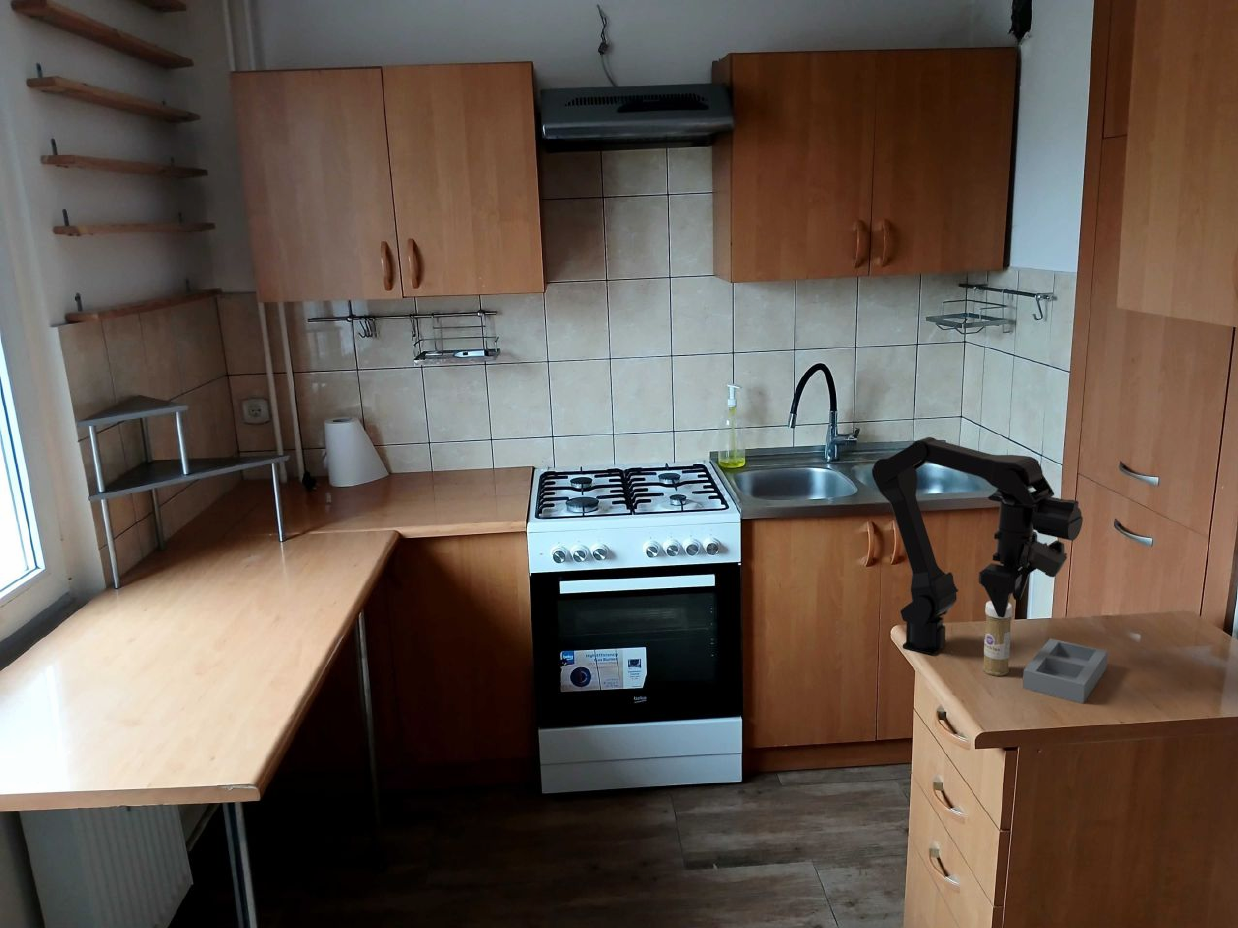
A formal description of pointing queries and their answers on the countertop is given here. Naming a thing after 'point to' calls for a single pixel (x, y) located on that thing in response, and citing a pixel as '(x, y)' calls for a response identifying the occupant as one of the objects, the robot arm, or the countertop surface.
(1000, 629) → the sprinkles bottle
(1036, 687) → the slot caddy
